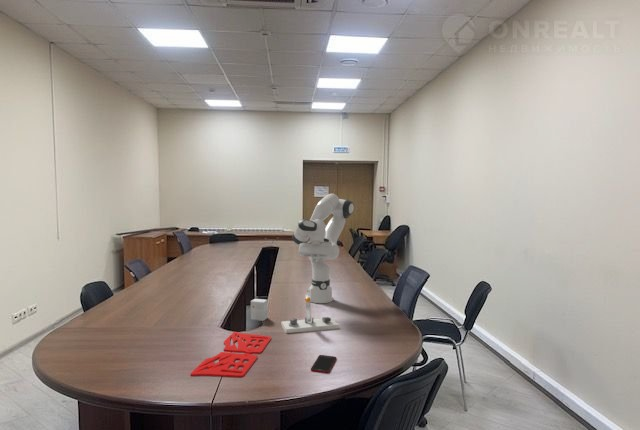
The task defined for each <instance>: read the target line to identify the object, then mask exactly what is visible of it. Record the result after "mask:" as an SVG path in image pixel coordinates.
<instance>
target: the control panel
mask: <svg viewBox="0 0 640 430" xmlns="http://www.w3.org/2000/svg"><path fill="white" fill-rule="evenodd" d="M322 318H323V317H320V318H314V317H311V322H307V316H306V317H305V318H304V319H297V324H290V320H285V321H284V320H282V321H281V322H280V323H281V327H282V328H283V331H284V332H285V334H292V333H301V332H302V333H303V332H305V333H306V332H313V331H325V330H334V329H339V325H340V324H339V323H338V322H336V321H335V319H333V317H329V318H331V321H327V322H325V321H322Z"/></svg>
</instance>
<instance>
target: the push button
mask: <svg viewBox="0 0 640 430" xmlns="http://www.w3.org/2000/svg"><path fill="white" fill-rule="evenodd" d="M297 320H298V319H297V318H290V319H289V321H290V324H297Z"/></svg>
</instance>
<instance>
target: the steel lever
mask: <svg viewBox="0 0 640 430" xmlns="http://www.w3.org/2000/svg"><path fill="white" fill-rule="evenodd" d="M304 301H305V305H306V317H307V322H311V319H312V310H311V302H310V301H311V299H310V298H309V297H307V298H306V297H305V299H304Z"/></svg>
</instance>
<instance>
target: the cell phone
mask: <svg viewBox="0 0 640 430" xmlns="http://www.w3.org/2000/svg"><path fill="white" fill-rule="evenodd" d="M336 361H337V356H333V355H326V354H325V355H324V354H319V355H318V356H317V358H316V360H315V361H314V363H313V364H312V366H311V368H310V371H311V372H314V373H321V374H330V373H331V371H332V369H333V367H334V365H335V363H336Z"/></svg>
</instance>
